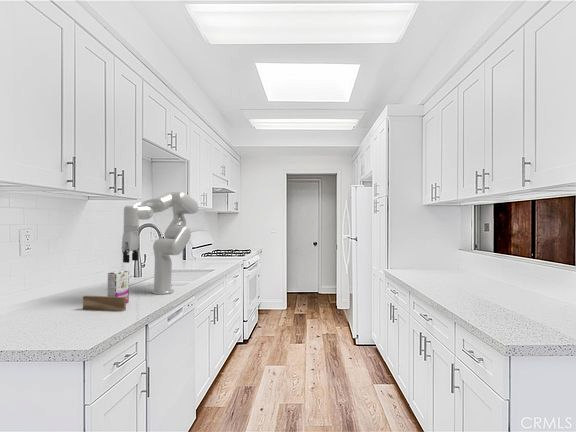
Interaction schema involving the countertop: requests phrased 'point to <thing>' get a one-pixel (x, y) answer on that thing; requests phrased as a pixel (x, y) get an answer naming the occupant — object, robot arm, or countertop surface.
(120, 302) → the board
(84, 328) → the countertop surface
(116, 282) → the candy bar box
